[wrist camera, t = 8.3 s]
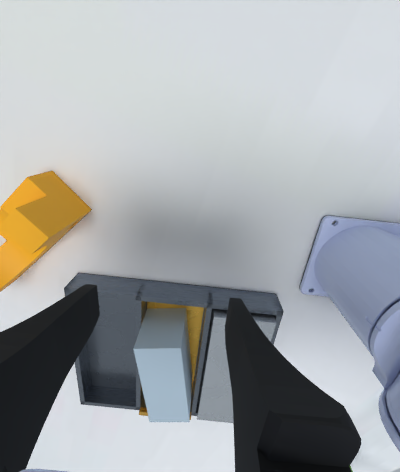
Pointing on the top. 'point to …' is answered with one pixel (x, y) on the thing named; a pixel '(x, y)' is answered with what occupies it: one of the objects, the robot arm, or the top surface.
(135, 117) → the top surface
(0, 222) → the pipe clamp
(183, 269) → the top surface
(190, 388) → the tall blue-grey block
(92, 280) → the grey compartment tray
